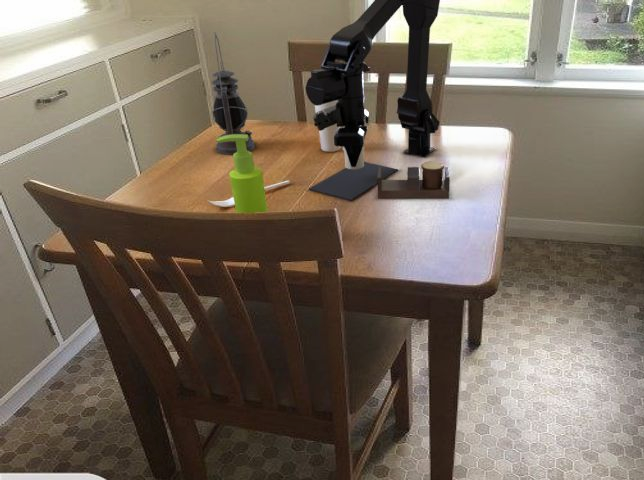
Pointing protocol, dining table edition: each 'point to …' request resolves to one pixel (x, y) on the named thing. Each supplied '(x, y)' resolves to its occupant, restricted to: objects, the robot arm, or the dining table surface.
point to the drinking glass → (328, 131)
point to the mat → (352, 181)
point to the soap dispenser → (246, 178)
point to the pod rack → (411, 187)
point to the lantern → (229, 109)
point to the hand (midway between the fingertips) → (354, 162)
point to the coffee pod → (359, 163)
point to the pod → (432, 174)
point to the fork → (231, 201)
